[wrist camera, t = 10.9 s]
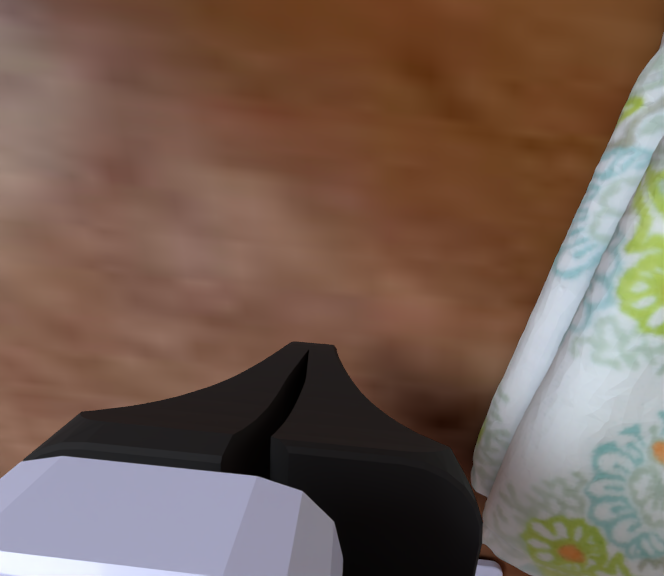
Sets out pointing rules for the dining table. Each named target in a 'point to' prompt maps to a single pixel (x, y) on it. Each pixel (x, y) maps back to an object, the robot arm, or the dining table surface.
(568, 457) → the towel
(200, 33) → the dining table surface
